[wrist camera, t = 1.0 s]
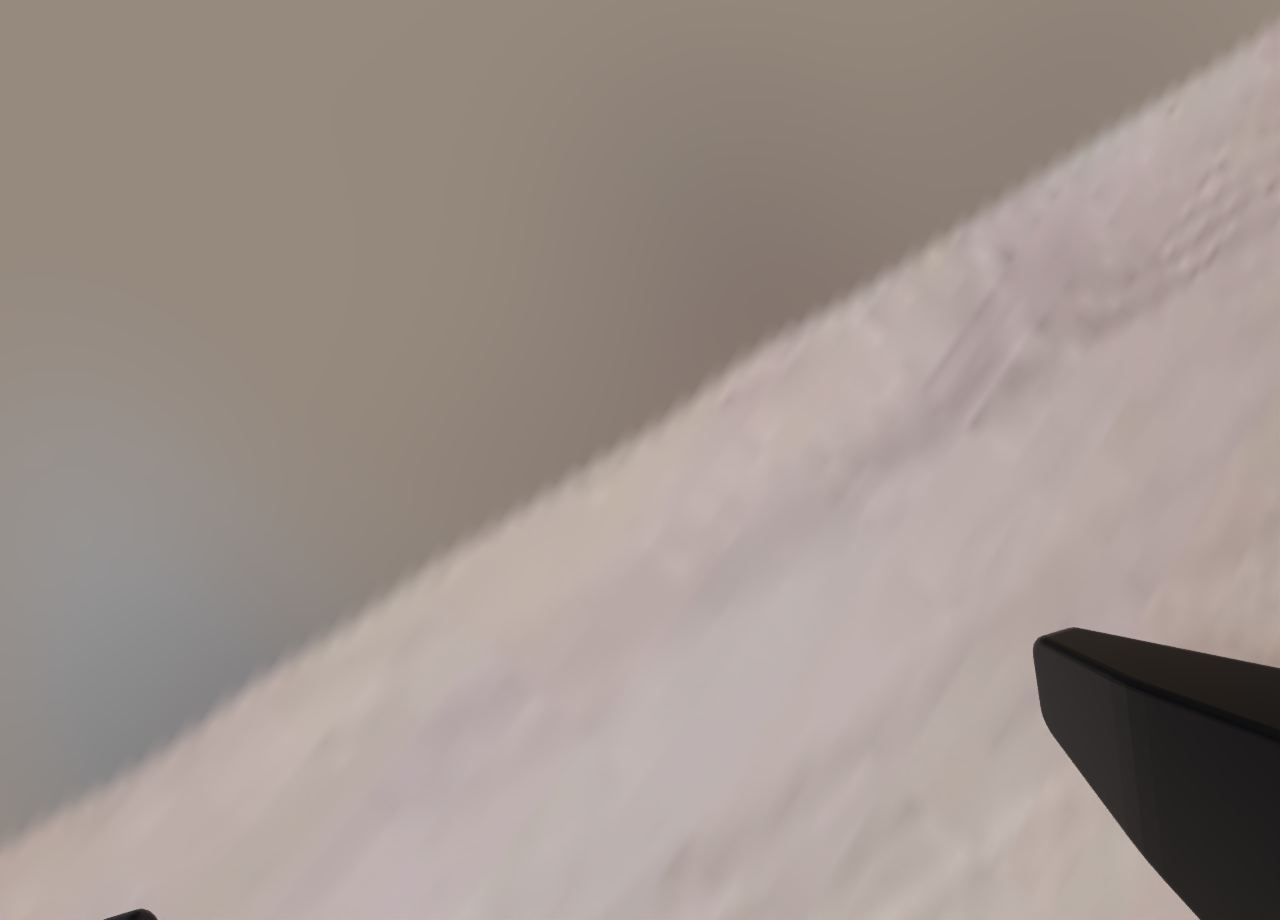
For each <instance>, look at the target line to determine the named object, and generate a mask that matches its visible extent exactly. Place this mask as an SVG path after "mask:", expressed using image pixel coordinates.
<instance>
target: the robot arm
mask: <svg viewBox="0 0 1280 920" xmlns="http://www.w3.org/2000/svg"><path fill="white" fill-rule="evenodd" d="M1033 658H1034V665H1035V672H1036V679H1037V686H1038V693H1039V700H1040V707H1041V711H1042V715H1043V718H1044V720H1045V723H1046V725H1047V727H1048V728H1049V730H1050V732H1051V733H1052V735H1053V736H1054V738H1055V739H1056V740H1057V742H1058V743H1059V744H1060V746H1061V747H1062V748H1063V750H1064V751H1065V752H1066V754H1067V755H1068V756H1069V758H1070V759H1071V760H1072V762H1073V763H1074V764H1075V766H1076V767H1077V769H1078V770H1079V771H1080V773H1081V774H1082V775H1083V777H1084V778H1085V779H1086V781H1087V782H1088V783H1089V785H1090V786H1091V787H1092V789H1093V790H1094V791H1095V793H1096V794H1097V795H1098V797H1099V798H1100V800H1101V801H1102V802H1103V804H1104V805H1105V806H1106V808H1107V809H1108V810H1109V812H1110V813H1111V814H1112V816H1113V817H1114V818H1115V820H1116V821H1117V822H1118V824H1119V825H1120V826H1121V828H1122V829H1123V831H1124V832H1125V833H1126V835H1127V836H1128V837H1129V839H1130V840H1131V841H1132V842H1133V844H1134V845H1135V846H1136V847H1137V849H1138V850H1139V851H1140V853H1141V854H1142V855H1143V856H1144V858H1145V859H1146V860H1147V861H1148V862H1149V863H1150V865H1151V866H1152V867H1153V868H1154V869H1155V870H1156V871H1157V873H1158V874H1159V875H1160V876H1161V877H1162V878H1163V879H1164V881H1165V882H1166V883H1167V884H1168V885H1169V886H1170V887H1171V888H1172V889H1173V890H1174V892H1175V893H1176V894H1177V895H1178V896H1179V897H1180V898H1181V899H1182V900H1183V901H1184V903H1185V904H1186V905H1187V906H1188V907H1189V908H1190V909H1191V910H1192V911H1193V912H1194V914H1195V915H1196V916H1197V917H1198V918H1199V919H1200V920H1280V668H1276V667H1271V666H1266V665H1261V664H1256V663H1251V662H1246V661H1241V660H1236V659H1231V658H1226V657H1221V656H1216V655H1211V654H1206V653H1201V652H1196V651H1191V650H1186V649H1181V648H1176V647H1171V646H1166V645H1161V644H1156V643H1151V642H1146V641H1141V640H1136V639H1131V638H1126V637H1121V636H1116V635H1111V634H1106V633H1101V632H1096V631H1091V630H1086V629H1081V628H1075V627H1073V628H1067V629H1064V630H1060V631H1057V632H1054V633H1050V634H1047V635H1044V636H1041V637H1039V638H1038V639H1037V640H1036V641H1035V643H1034V646H1033ZM104 920H157V918H156V917H155V915H154V914H153V913H152V912H150V911H148V910H145V909H137V910H133V911H130V912H127V913H123V914H120V915H117V916H113V917H110V918H107V919H104Z"/></svg>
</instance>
